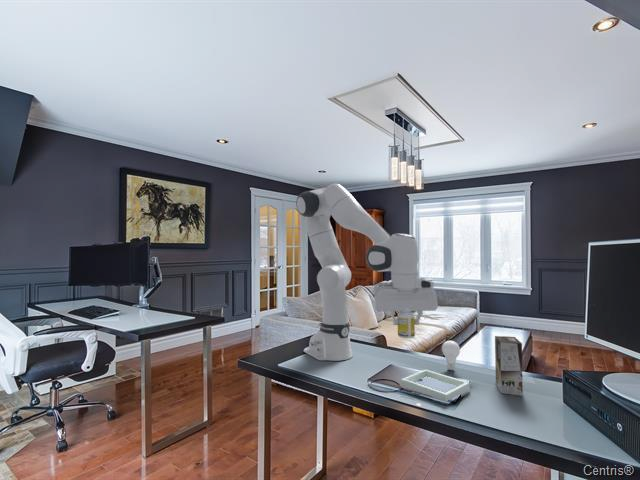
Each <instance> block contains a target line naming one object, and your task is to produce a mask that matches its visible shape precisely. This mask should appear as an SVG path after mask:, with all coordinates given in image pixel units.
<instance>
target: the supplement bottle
mask: <svg viewBox="0 0 640 480" xmlns="http://www.w3.org/2000/svg"><path fill="white" fill-rule="evenodd" d="M414 318H415V314H414V313H413V312H412V311H410V309H409V308H405V309H404V311H399V313H398V314H397V318H396V319H398V325H397V336H398V337H399V338H401V339H413V338H415V336H416V334H415V333H416V332H415V325H414Z"/></svg>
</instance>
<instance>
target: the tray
mask: <svg viewBox="0 0 640 480" xmlns="http://www.w3.org/2000/svg"><path fill="white" fill-rule="evenodd" d="M426 376H427V377H431V378H434V379H437V380H439V381H442V382H445V383H449V384H453V385H456V386H458V387H456V388H454V389H452V390H450V391H448V392H446V393H444V392H441V391H438V390H435V389H432V388H430V387H427V386H424V385H421V384H418V383H415V382H414V381H417V380H419V379H421V378H424V377H426ZM400 383H401V385H402V386H405V387H408V388H411V389H414V390H416V391H418V392H421V393H423V394H427V395H430V396H432V397H434V398H437V399H439V400H442V401H445V402H447V401H448V400H450V399H452V398H453V397H455V396H457V395H459V394H461V398H462V397H464V396H466V395H467V394H470V393H471V388H470V387H471V386H470V385H471V384H470V382H468V381H465V380H462V379H459V378H455V377H452V376H448V375H446V374H443V373H442V374H441V373H438V372H436V371H433V370H429V369H426V368H425V369H422V370H421V371H418V372H415V373H412V374H410V375H408V376H406V377H403V378H401V379H400Z"/></svg>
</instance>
